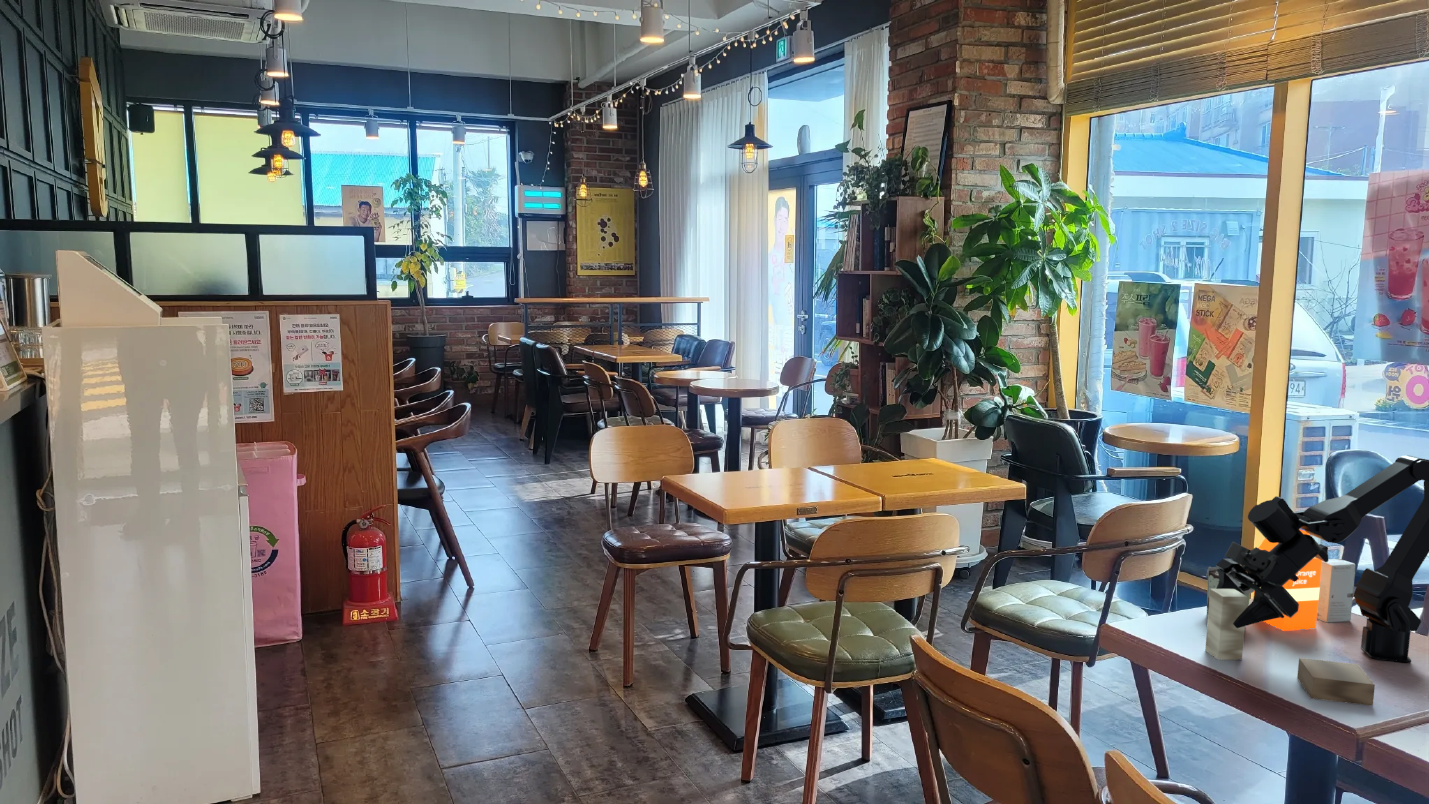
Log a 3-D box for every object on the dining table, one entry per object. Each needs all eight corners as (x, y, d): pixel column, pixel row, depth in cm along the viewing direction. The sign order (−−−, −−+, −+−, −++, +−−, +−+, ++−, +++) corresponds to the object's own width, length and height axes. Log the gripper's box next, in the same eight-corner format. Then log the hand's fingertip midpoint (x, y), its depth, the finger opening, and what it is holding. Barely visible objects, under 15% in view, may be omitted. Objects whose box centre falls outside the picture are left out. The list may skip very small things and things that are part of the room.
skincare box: (1327, 623, 204) (1332, 565, 203) (1309, 615, 208) (1314, 559, 207) (1352, 621, 205) (1357, 563, 204) (1334, 614, 210) (1339, 557, 208)
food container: (1263, 634, 197) (1268, 585, 196) (1232, 633, 197) (1236, 584, 196) (1233, 613, 210) (1236, 566, 208) (1203, 612, 210) (1207, 566, 208)
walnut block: (1355, 686, 173) (1357, 664, 173) (1372, 707, 165) (1375, 684, 164) (1297, 679, 176) (1299, 657, 175) (1310, 700, 167) (1313, 677, 167)
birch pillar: (1228, 650, 188) (1233, 588, 187) (1242, 659, 184) (1247, 596, 182) (1205, 650, 188) (1210, 588, 187) (1217, 659, 184) (1222, 596, 182)
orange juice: (1283, 631, 199) (1291, 533, 197) (1250, 616, 208) (1258, 522, 205) (1316, 628, 201) (1325, 531, 198) (1283, 614, 209) (1291, 520, 207)
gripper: (1230, 517, 192) (1169, 572, 193) (1288, 542, 174) (1220, 603, 175) (1266, 557, 194) (1205, 611, 195) (1328, 587, 175) (1260, 647, 176)
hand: (1221, 617), depth 185 cm, fingers open, 9 cm apart
